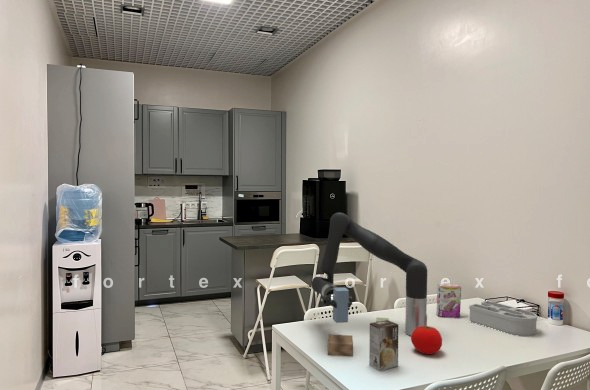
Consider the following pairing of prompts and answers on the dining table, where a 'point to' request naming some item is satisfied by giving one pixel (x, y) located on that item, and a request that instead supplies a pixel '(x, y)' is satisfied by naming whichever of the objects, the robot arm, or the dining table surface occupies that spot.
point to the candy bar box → (448, 300)
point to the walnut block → (340, 345)
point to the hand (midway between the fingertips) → (342, 305)
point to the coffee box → (383, 345)
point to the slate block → (341, 305)
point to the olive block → (381, 319)
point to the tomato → (426, 339)
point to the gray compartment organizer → (504, 318)
